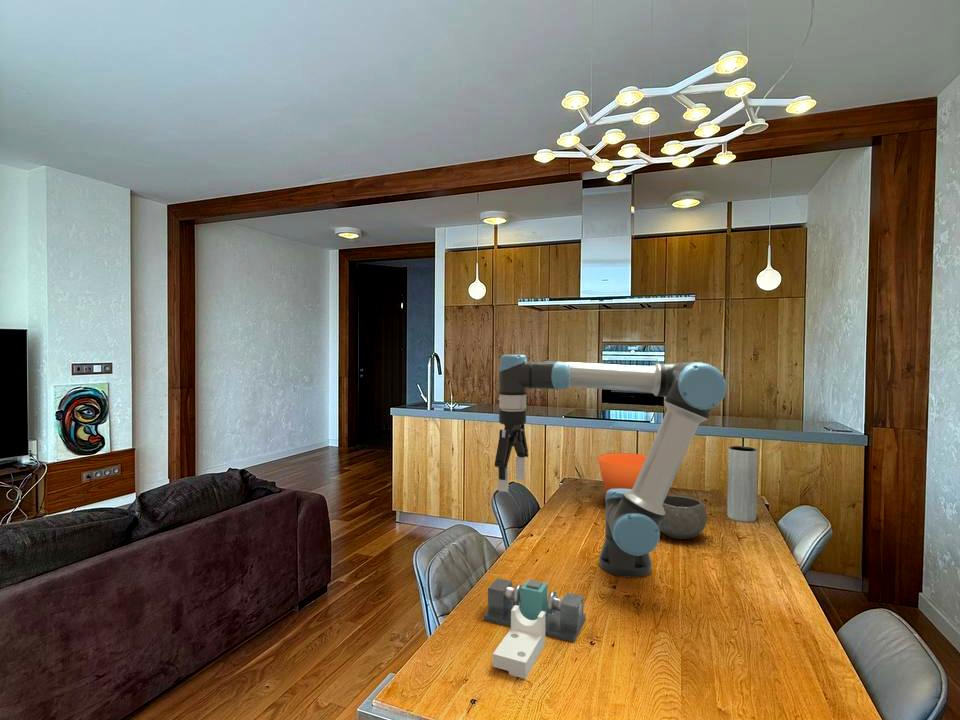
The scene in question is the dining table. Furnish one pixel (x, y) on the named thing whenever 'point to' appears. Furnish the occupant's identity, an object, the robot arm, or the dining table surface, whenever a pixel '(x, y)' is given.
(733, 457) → the vase
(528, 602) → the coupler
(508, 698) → the dining table surface
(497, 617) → the shaft bench
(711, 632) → the dining table surface
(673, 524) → the bowl
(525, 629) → the bracket
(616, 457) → the flowerpot
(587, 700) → the dining table surface
